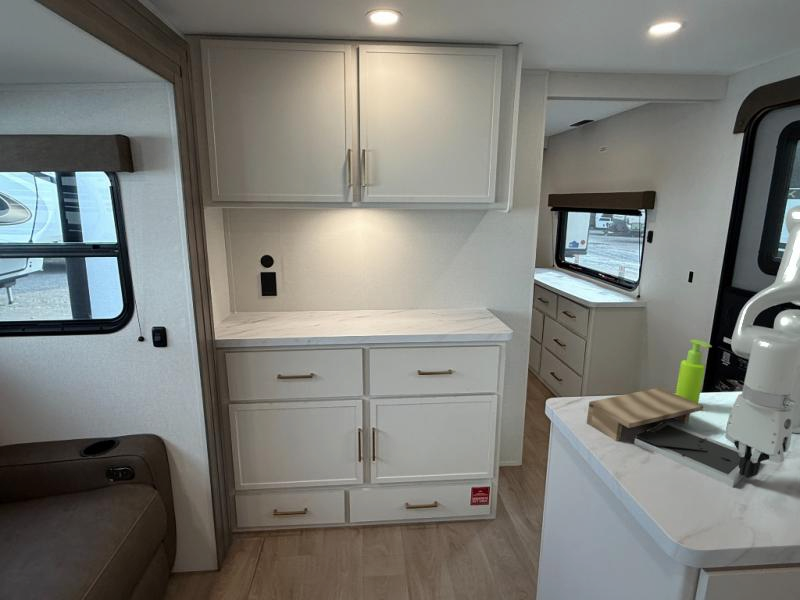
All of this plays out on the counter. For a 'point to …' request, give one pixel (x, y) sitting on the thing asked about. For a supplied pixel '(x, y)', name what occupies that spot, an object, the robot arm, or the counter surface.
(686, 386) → the soap dispenser
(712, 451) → the picture frame
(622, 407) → the walnut shelf
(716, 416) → the counter surface
